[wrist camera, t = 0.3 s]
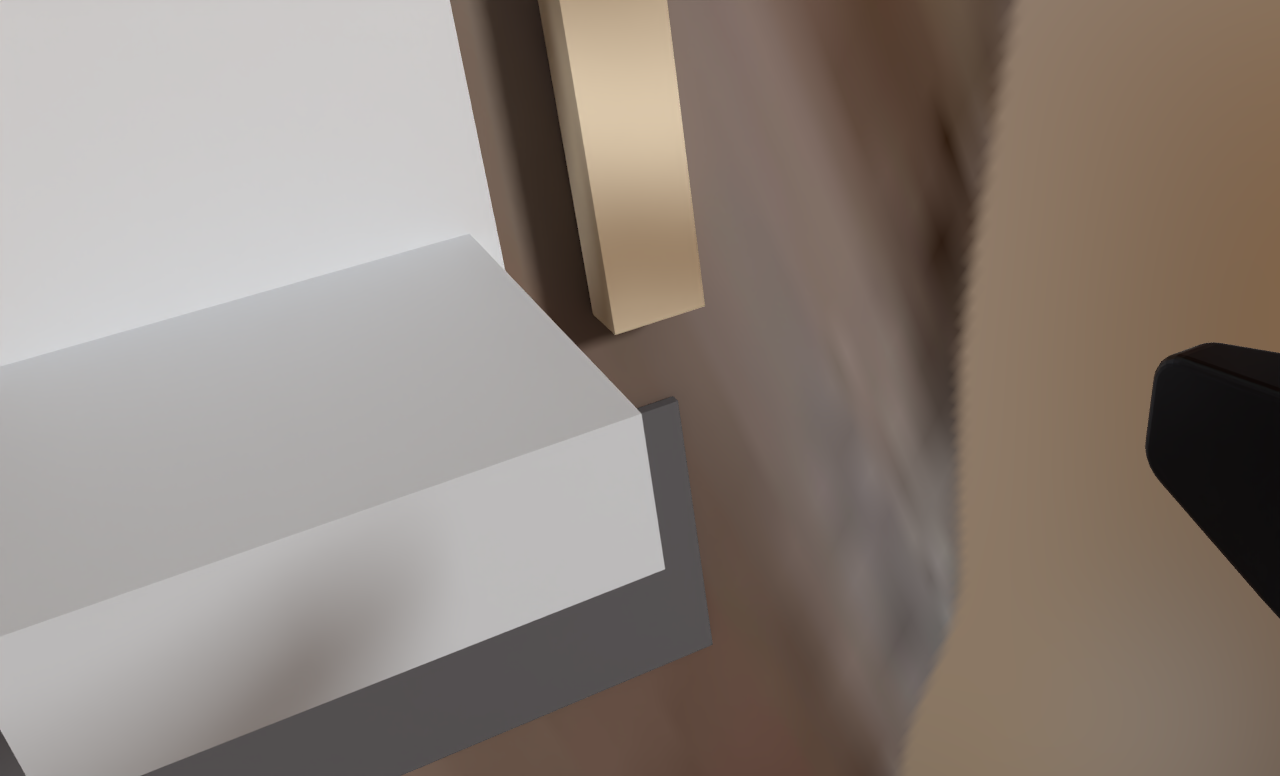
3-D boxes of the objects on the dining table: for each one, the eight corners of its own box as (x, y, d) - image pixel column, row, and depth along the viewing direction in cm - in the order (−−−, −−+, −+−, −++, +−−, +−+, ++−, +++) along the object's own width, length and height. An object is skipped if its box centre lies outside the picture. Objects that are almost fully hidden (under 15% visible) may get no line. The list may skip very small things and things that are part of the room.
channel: (679, 287, 25) (704, 305, 24) (-220, 570, 20) (-235, 609, 19) (569, -534, 18) (598, -555, 17) (-830, -421, 13) (-904, -442, 12)
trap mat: (708, 638, 29) (712, 644, 29) (29, 922, 25) (28, 931, 24) (673, 396, 26) (677, 400, 26) (-122, 671, 21) (-124, 678, 21)
